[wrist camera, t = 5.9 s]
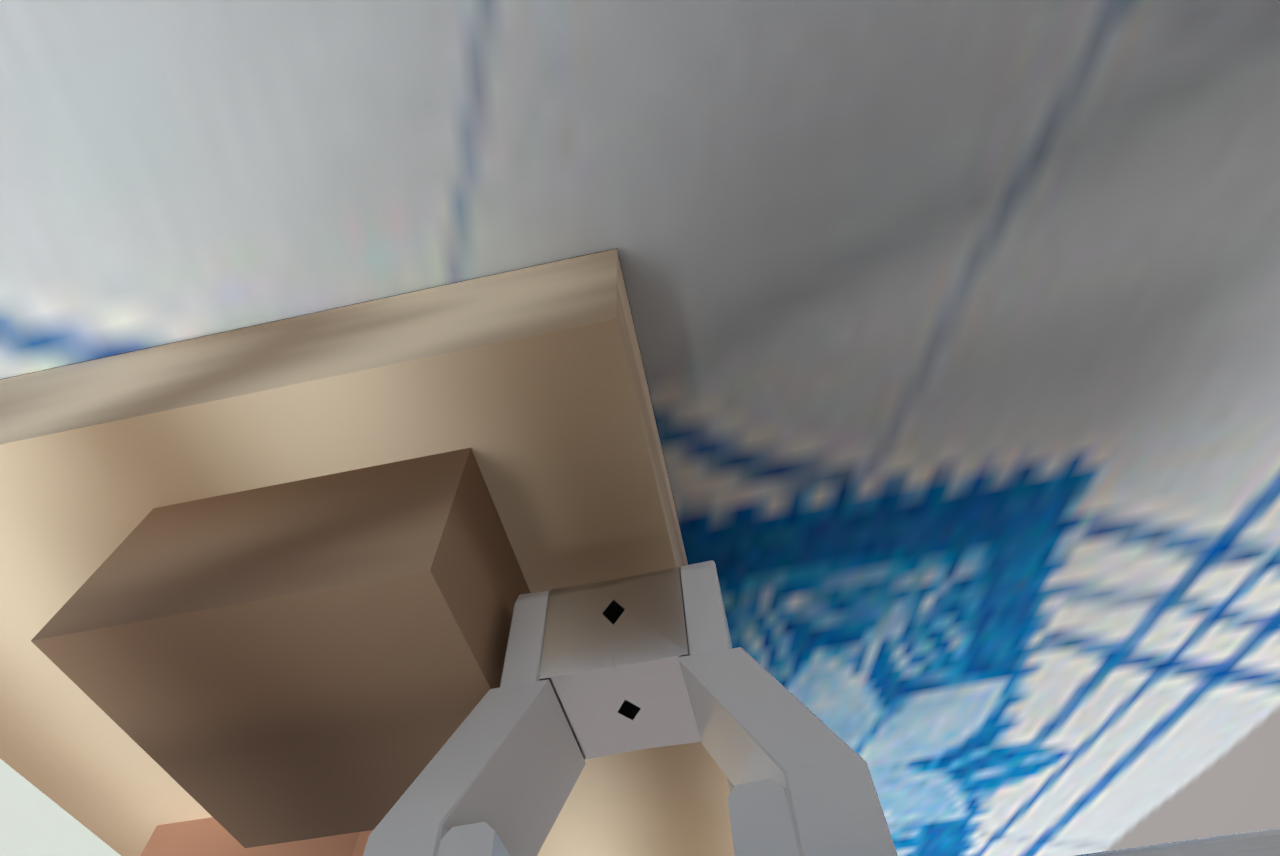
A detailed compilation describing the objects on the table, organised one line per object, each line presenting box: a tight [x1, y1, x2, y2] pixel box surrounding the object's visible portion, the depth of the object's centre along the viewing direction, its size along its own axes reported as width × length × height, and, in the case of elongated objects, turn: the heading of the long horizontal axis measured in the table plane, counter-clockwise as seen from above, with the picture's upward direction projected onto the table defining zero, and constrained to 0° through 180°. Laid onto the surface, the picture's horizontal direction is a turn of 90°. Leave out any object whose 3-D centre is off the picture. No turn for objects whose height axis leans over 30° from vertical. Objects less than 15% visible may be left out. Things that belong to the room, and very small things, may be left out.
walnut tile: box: [31, 448, 531, 848], centre depth 10 cm, size 5×5×2 cm
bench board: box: [0, 249, 735, 856], centre depth 15 cm, size 14×16×3 cm
